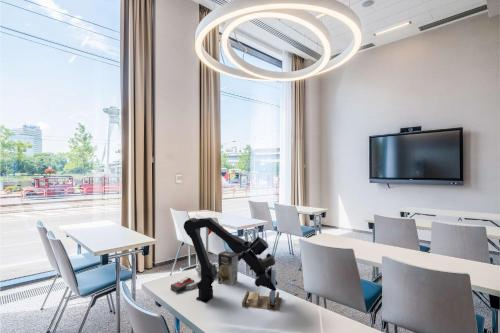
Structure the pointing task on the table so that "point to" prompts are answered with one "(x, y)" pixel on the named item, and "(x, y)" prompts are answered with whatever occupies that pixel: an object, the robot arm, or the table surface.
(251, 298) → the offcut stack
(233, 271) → the coffee box
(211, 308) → the table surface
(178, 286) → the walkie-talkie
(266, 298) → the rack
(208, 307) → the table surface
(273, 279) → the board
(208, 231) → the flag stand
